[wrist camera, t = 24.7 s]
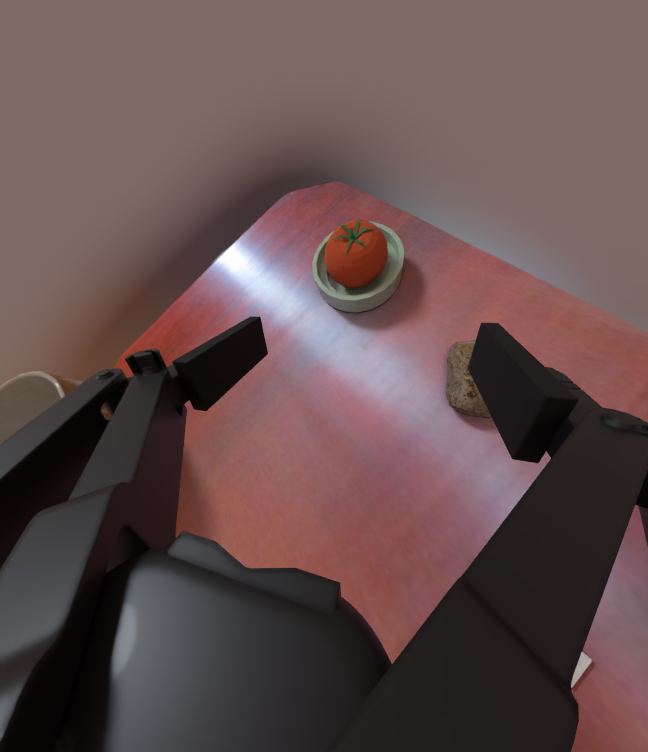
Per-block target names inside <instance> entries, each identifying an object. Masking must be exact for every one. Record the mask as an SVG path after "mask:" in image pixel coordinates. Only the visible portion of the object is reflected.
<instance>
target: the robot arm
mask: <svg viewBox="0 0 648 752" xmlns="http://www.w3.org/2000/svg"><path fill="white" fill-rule="evenodd" d="M267 354H268V352H267V347H266V342H265V337H264V333H263V328H262V323H261V318H260V317H249V318H247V319H245V320H244V321H242V322H240V323H239V324H237V325H235V326H233V327H232V328H230V329H228V330H226V331H225V332H223V333H221V334H219V335H218V336H216V337H214V338H212V339H211V340H209V341H207V342H205V343H204V344H202V345H200V346H198V347H197V348H195V349H193V350H192V351H190V352H188V353H186V354H185V355H183V356H181V357H179V358H178V359H176V360H174V361H172V362H173V364H172V365H170V366H169V367H166V365H165V362H164V360H163V358H162V356H161V354H160V352H159V350H156V349H149V350H144V351H140V352H137V353H134V354H131V355H130V356H128V357H127V358H125V360H126V362H127V363H128V365H129V367H130V369H131V370H132V372H133V374H134V376H133V377H128V378H126V376H125V374H124V373H123V371H122V369H110V370H109V369H107V370H103V371H100V372H98V373H96V374H95V375H93V376H91V377H90V378H88V379H87V380H86V381H84V382H83V383H81V384H80V385H79V386H77V387H76V388H75V389H73V390H72V391H71V392H69V393H68V394H67V395H65V396H64V397H63V398H62V399H60V400H59V401H58V402H56V403H55V404H54V405H52V406H51V407H50V408H48V409H47V410H46V411H44V412H43V413H42V414H40V415H39V416H38V417H36V418H35V419H34V420H32V421H31V422H30V423H28V424H27V425H26V426H24V427H23V428H22V429H20V430H19V431H18V432H16V433H15V434H14V435H12V436H11V437H10V438H8V439H7V440H6V441H4V442H3V443H2V444H0V752H571V749H572V746H573V743H574V739H575V734H576V730H577V725H578V721H579V717H578V703H577V701H576V700H575V698H574V696H573V694H572V692H571V683H572V679H573V675H574V672H575V669H576V666H577V664H578V661H579V658H580V655H581V653H582V650H583V647H584V644H585V642H586V639H587V636H588V633H589V631H590V628H591V625H592V622H593V620H594V617H595V614H596V611H597V608H598V606H599V603H600V600H601V597H602V595H603V592H604V589H605V586H606V584H607V581H608V578H609V575H610V573H611V570H612V567H613V564H614V562H615V559H616V556H617V553H618V551H619V548H620V545H621V542H622V539H623V537H624V534H625V531H626V528H627V526H628V523H629V520H630V517H631V515H632V512H633V509H634V506H635V505H638V506H639V509H640V514H641V518H642V523H643V527H644V532H645V536H646V541H647V545H648V423H647V422H645V421H643V420H642V419H640V418H637V417H635V416H633V415H630V414H628V413H625V412H621V411H617V410H614V409H607V408H602V407H601V406H600V405H599V404H598V403H597V402H595V401H594V400H593V399H592V398H591V397H590V396H589V395H587V394H586V393H585V392H584V391H583V390H581V388H579V387H578V386H577V385H576V384H573V381H571V380H570V379H569V378H568V377H567V376H566V375H564V374H562V373H560V372H559V371H557V370H555V369H553V368H549V367H544V366H543V365H542V364H541V363H540V362H539V361H538V360H537V359H536V358H535V357H534V356H532V355H531V354H530V353H529V352H528V351H527V350H526V349H525V348H524V347H523V346H522V345H521V344H520V343H519V342H518V341H516V340H515V339H514V338H513V337H512V336H511V335H510V334H509V333H508V332H507V331H506V330H505V329H504V328H503V327H502V326H501V325H499V324H498V323H481V325H480V329H479V332H478V335H477V339H476V342H475V345H474V348H473V352H472V355H471V358H470V362H469V365H468V370H469V372H470V374H471V376H472V378H473V380H474V382H475V384H476V386H477V388H478V390H479V392H480V395H481V397H482V399H483V401H484V403H485V405H486V407H487V409H488V411H489V413H490V415H491V417H492V419H493V421H494V423H495V425H496V427H497V429H498V431H499V433H500V435H501V437H502V439H503V441H504V443H505V445H506V447H507V449H508V451H509V453H510V455H511V457H512V459H515V460H521V461H527V462H534V463H539V461H540V460H541V458H542V457H543V455H544V454H545V452H546V451H547V453H548V454H549V456H550V457H551V460H550V461H549V462H548V464H547V465H546V466H545V468H544V469H543V470H542V472H541V473H540V474H539V475H538V477H537V478H536V479H535V481H534V482H533V483H532V485H531V486H530V487H529V489H528V490H527V491H526V493H525V494H524V495H523V497H522V498H521V499H520V500H519V502H518V503H517V504H516V506H515V507H514V508H513V510H512V511H511V512H510V514H509V515H508V516H507V518H506V519H505V520H504V521H503V523H502V524H501V525H500V527H499V528H498V529H497V531H496V532H495V533H494V535H493V536H492V537H491V539H490V540H489V541H488V543H487V544H486V545H485V546H484V548H483V549H482V550H481V552H480V553H479V554H478V556H477V557H476V558H475V560H474V561H473V562H472V564H471V565H470V566H469V568H468V569H467V570H466V571H465V573H464V574H463V575H462V576H461V577H460V578H459V579H458V580H457V581H456V582H455V583H454V585H453V586H452V587H451V588H450V590H449V591H448V592H447V594H446V595H445V596H444V597H443V599H442V600H441V601H440V603H439V604H438V605H437V607H436V608H435V609H434V611H433V612H432V613H431V614H430V616H429V617H428V618H427V620H426V621H425V622H424V624H423V625H422V626H421V627H420V629H419V630H418V631H417V633H416V634H415V635H414V637H413V638H412V639H411V641H410V642H409V643H408V644H407V646H406V647H405V648H404V650H403V651H402V652H401V654H400V655H399V656H398V658H397V659H396V660H395V661H394V663H393V664H391V661H390V659H389V657H388V655H387V653H386V651H385V649H384V648H383V646H382V644H381V642H380V640H379V639H378V637H377V636H376V634H375V632H374V631H373V629H372V628H371V626H370V625H369V624H368V623H367V621H366V620H365V619H364V618H363V616H362V615H361V614H360V613H359V612H358V611H357V610H356V609H355V608H354V607H353V606H352V605H351V604H350V603H349V602H347V601H346V600H345V599H344V598H342V597H341V589H340V583H339V582H336V581H333V580H330V579H327V578H324V577H321V576H318V575H315V574H312V573H309V572H306V571H303V570H300V569H297V568H254V569H252V568H247V567H245V566H243V565H242V564H241V563H240V562H239V561H237V560H236V559H235V558H234V557H233V556H232V555H231V554H229V553H228V552H227V551H226V550H225V549H224V548H222V547H221V546H220V545H219V544H218V543H217V542H215V541H212V540H209V539H206V538H203V537H200V536H197V535H194V534H191V533H188V532H185V531H182V532H181V533H180V535H179V536H178V538H177V539H176V535H175V532H176V520H177V509H178V499H179V488H180V478H181V467H182V457H183V446H184V436H185V425H186V415H187V409H186V407H185V405H184V404H185V403H186V402H187V401H189V400H190V402H191V404H192V406H193V408H194V409H196V410H202V411H207V410H208V409H209V408H210V407H211V406H212V405H213V404H215V403H216V402H217V401H218V400H219V399H220V398H221V397H222V396H223V395H224V394H225V393H226V392H227V391H228V390H230V389H231V388H232V387H233V386H234V385H235V384H236V383H237V382H238V381H239V380H240V379H241V378H242V377H243V376H245V375H246V374H247V373H248V372H249V371H250V370H251V369H252V368H253V367H254V366H255V365H256V364H257V363H259V362H260V361H261V360H262V359H263V358H264V357H265V356H266V355H267ZM103 405H104V407H105V408H106V410H107V411H108V412H109V414H110V415H111V417H110V418H109V419H108V420H107V419H106V418H105V417H104V416H103V414H102V413H101V407H102V406H103Z"/></svg>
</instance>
